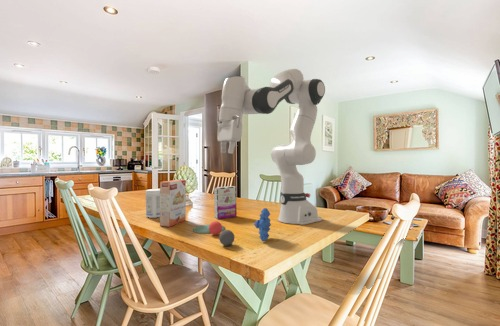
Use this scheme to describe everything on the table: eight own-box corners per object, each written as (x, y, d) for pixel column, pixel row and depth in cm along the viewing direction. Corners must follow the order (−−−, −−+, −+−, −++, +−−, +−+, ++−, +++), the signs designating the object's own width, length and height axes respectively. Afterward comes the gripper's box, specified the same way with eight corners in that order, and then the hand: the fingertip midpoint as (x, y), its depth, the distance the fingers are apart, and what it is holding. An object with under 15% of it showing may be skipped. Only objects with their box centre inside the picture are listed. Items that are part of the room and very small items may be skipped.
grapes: (256, 234, 103) (256, 205, 103) (273, 235, 101) (272, 206, 101) (250, 244, 91) (250, 211, 91) (269, 245, 90) (268, 212, 90)
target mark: (219, 223, 121) (219, 223, 121) (229, 231, 108) (229, 230, 108) (190, 226, 115) (190, 226, 115) (197, 235, 102) (197, 234, 102)
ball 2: (231, 241, 94) (231, 227, 94) (236, 246, 89) (236, 231, 89) (217, 244, 91) (217, 229, 91) (222, 248, 86) (221, 233, 86)
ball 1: (219, 232, 106) (219, 219, 106) (224, 235, 101) (223, 222, 101) (207, 233, 104) (207, 220, 104) (210, 237, 99) (210, 223, 99)
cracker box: (170, 227, 114) (170, 181, 114) (159, 226, 116) (158, 181, 116) (186, 220, 128) (186, 179, 127) (176, 219, 129) (175, 179, 129)
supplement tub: (164, 213, 143) (164, 188, 143) (164, 217, 134) (164, 190, 134) (146, 215, 140) (145, 189, 140) (145, 219, 131) (145, 191, 131)
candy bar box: (232, 215, 139) (232, 185, 139) (236, 216, 135) (236, 186, 134) (213, 217, 134) (213, 186, 133) (217, 219, 129) (217, 187, 129)
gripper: (248, 116, 88) (243, 154, 89) (230, 121, 107) (226, 153, 108) (231, 113, 86) (226, 152, 86) (216, 119, 105) (212, 151, 105)
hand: (226, 153), depth 97 cm, fingers open, 8 cm apart
